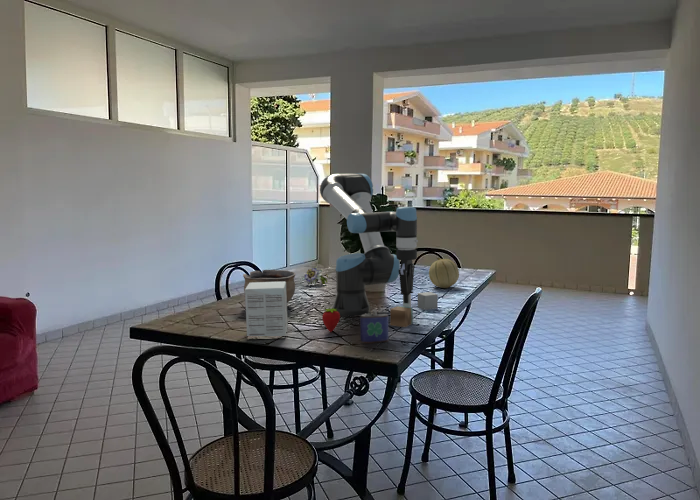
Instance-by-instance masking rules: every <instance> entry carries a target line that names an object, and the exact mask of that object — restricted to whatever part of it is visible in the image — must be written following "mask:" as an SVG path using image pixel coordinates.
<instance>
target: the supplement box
mask: <svg viewBox="0 0 700 500" xmlns="http://www.w3.org/2000/svg"><path fill="white" fill-rule="evenodd" d="M244 296H245V297H244V298H245V299H244V301H245V320H246V325H245V326H246V337H247V336H286V337H287V334H286V332H287V333H288V329H287V327H288V326H289V325H288V303H287V295H286V282H285V281H283V282H252V283H249V284H248V286H247V287H246V289H245V292H244ZM288 328H289V327H288Z"/></svg>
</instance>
